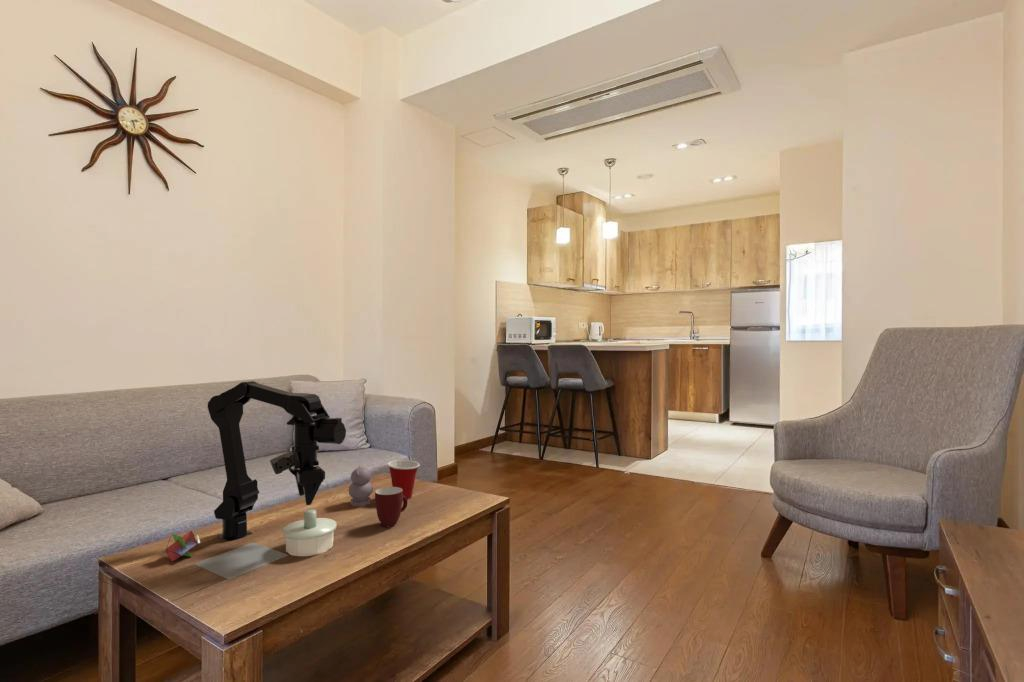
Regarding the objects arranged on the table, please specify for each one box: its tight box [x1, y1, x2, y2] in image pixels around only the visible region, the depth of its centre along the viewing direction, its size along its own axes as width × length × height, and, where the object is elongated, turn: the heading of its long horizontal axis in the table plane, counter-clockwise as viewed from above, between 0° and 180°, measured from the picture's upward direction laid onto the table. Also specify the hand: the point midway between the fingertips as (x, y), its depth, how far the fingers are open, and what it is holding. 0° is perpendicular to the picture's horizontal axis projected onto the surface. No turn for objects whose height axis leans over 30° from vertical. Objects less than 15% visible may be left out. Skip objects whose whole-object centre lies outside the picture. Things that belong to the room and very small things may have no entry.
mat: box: [193, 542, 289, 580], centre depth 124 cm, size 15×15×1 cm
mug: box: [374, 486, 408, 528], centre depth 150 cm, size 11×8×10 cm
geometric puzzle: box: [164, 530, 201, 562], centre depth 125 cm, size 7×7×8 cm
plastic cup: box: [387, 459, 420, 500], centre depth 174 cm, size 11×11×12 cm
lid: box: [282, 508, 338, 540], centre depth 132 cm, size 13×13×5 cm
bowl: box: [285, 530, 335, 557], centre depth 132 cm, size 11×11×5 cm
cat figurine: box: [348, 464, 374, 507], centre depth 168 cm, size 8×8×12 cm
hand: (304, 500), depth 135 cm, fingers open, 9 cm apart
